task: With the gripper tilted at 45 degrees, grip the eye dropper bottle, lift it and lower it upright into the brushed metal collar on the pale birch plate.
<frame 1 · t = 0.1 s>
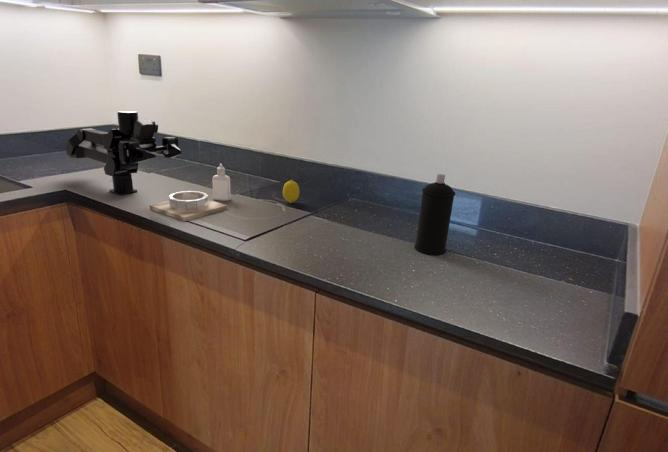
hand: (167, 154, 125), 17 cm above the worktop, tool horizontal, fingers open, 9 cm apart
collar: (188, 200, 129), on the base plate, point 3 cm above the worktop
base plate: (189, 209, 130), on the worktop
lemon: (290, 203, 143), on the worktop
aerosol can: (429, 249, 112), on the worktop
eye dropper bottle: (221, 199, 142), on the worktop
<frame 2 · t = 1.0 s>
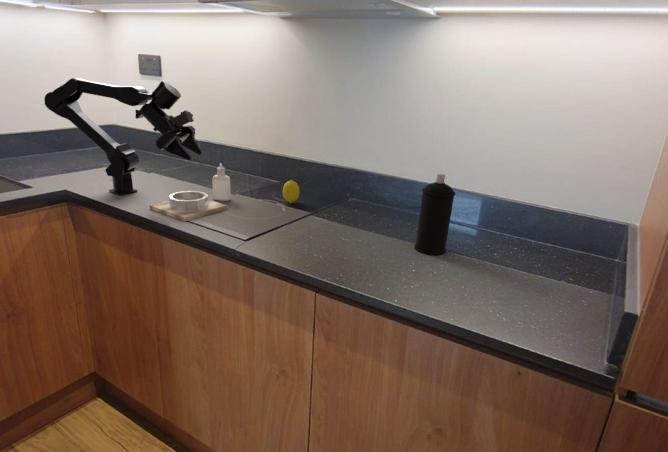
hand: (195, 156, 137), 14 cm above the worktop, tool tilted 45°, fingers open, 9 cm apart
nothing on the worktop moved.
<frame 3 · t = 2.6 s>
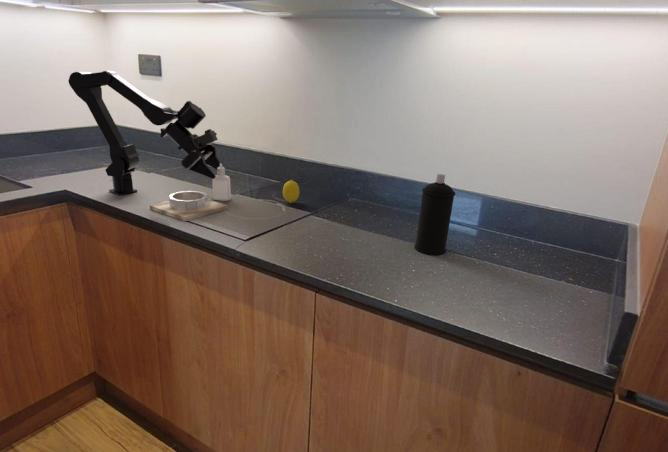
hand: (219, 174, 139), 8 cm above the worktop, tool tilted 45°, fingers open, 9 cm apart
nothing on the worktop moved.
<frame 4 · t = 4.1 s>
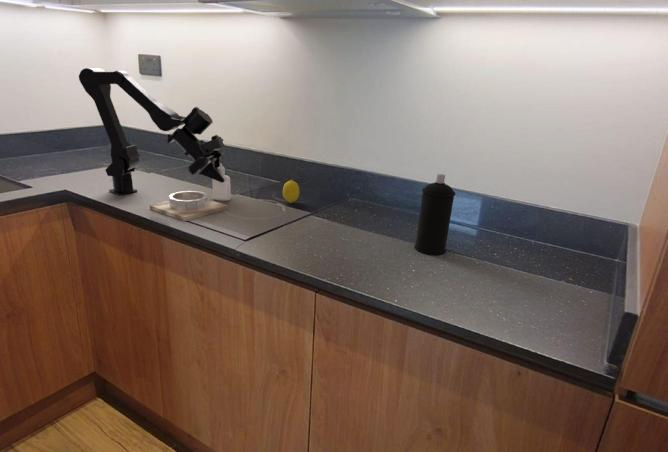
hand: (225, 180, 140), 7 cm above the worktop, tool tilted 45°, fingers closed on eye dropper bottle, 3 cm apart
eye dropper bottle: (221, 199, 142), on the worktop, touching gripper
everything else where it was.
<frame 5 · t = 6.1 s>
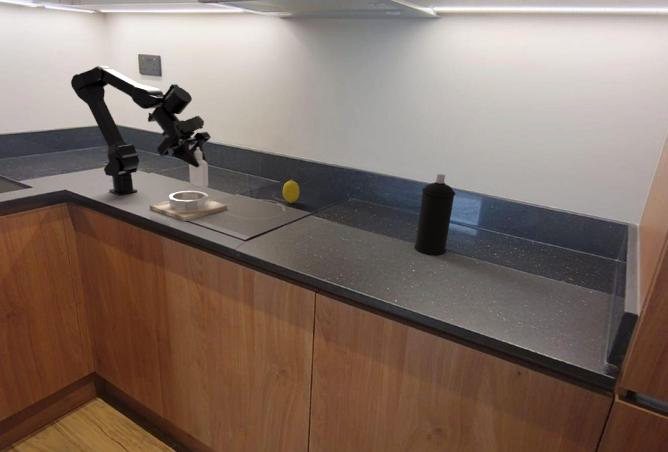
hand: (202, 165, 129), 13 cm above the worktop, tool tilted 45°, fingers closed on eye dropper bottle, 3 cm apart
eye dropper bottle: (199, 186, 131), point 6 cm above the worktop, touching gripper
everything else where it was.
when the fingers open (9 cm above the worktop, at t = 8.2 s): eye dropper bottle drops 1 cm, resting on base plate.
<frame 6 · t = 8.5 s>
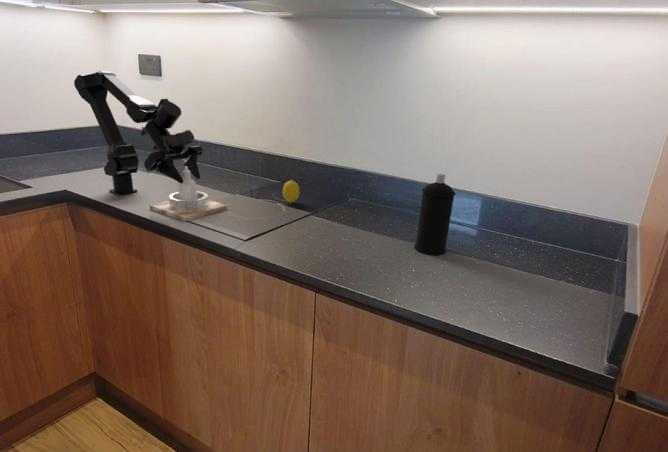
hand: (191, 180, 127), 9 cm above the worktop, tool tilted 45°, fingers open, 6 cm apart
eye dropper bottle: (188, 205, 130), point 1 cm above the worktop, touching base plate
everything else where it was.
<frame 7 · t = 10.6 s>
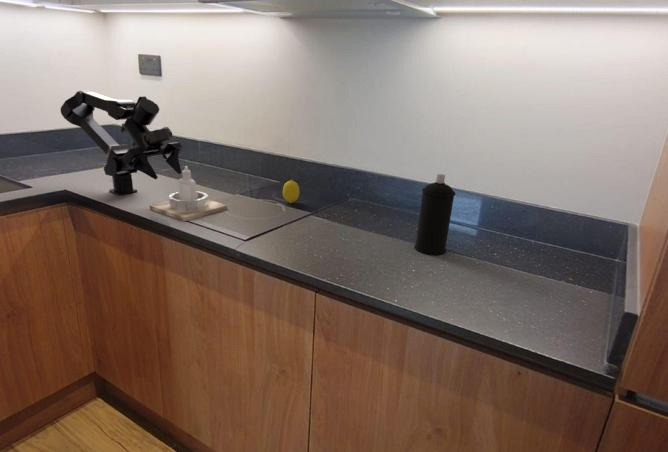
hand: (168, 175, 131), 9 cm above the worktop, tool tilted 45°, fingers open, 9 cm apart
nothing on the worktop moved.
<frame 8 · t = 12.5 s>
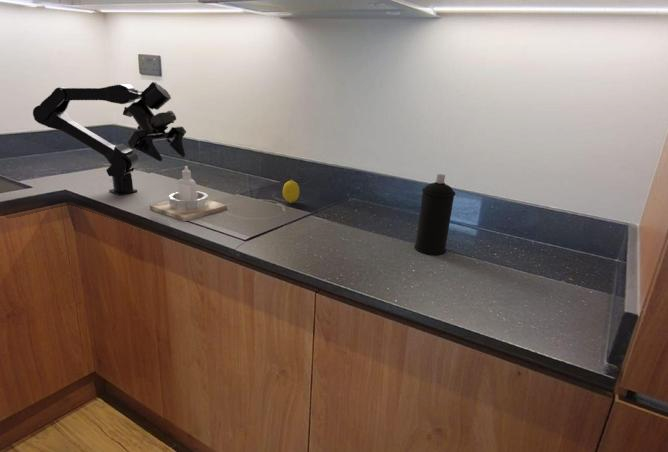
hand: (173, 158, 134), 14 cm above the worktop, tool tilted 45°, fingers open, 9 cm apart
nothing on the worktop moved.
at the end: eye dropper bottle 0.3 cm off-centre on the collar, point 1.0 cm above the collar's base; eye dropper bottle tilted 0°; the gripper is holding nothing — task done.
